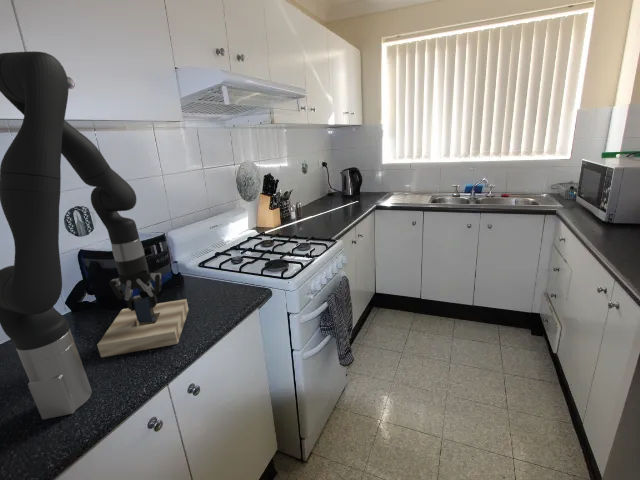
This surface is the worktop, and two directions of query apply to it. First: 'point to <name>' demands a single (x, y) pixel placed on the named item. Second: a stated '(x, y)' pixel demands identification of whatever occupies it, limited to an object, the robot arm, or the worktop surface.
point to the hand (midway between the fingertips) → (143, 307)
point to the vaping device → (143, 307)
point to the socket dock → (144, 329)
